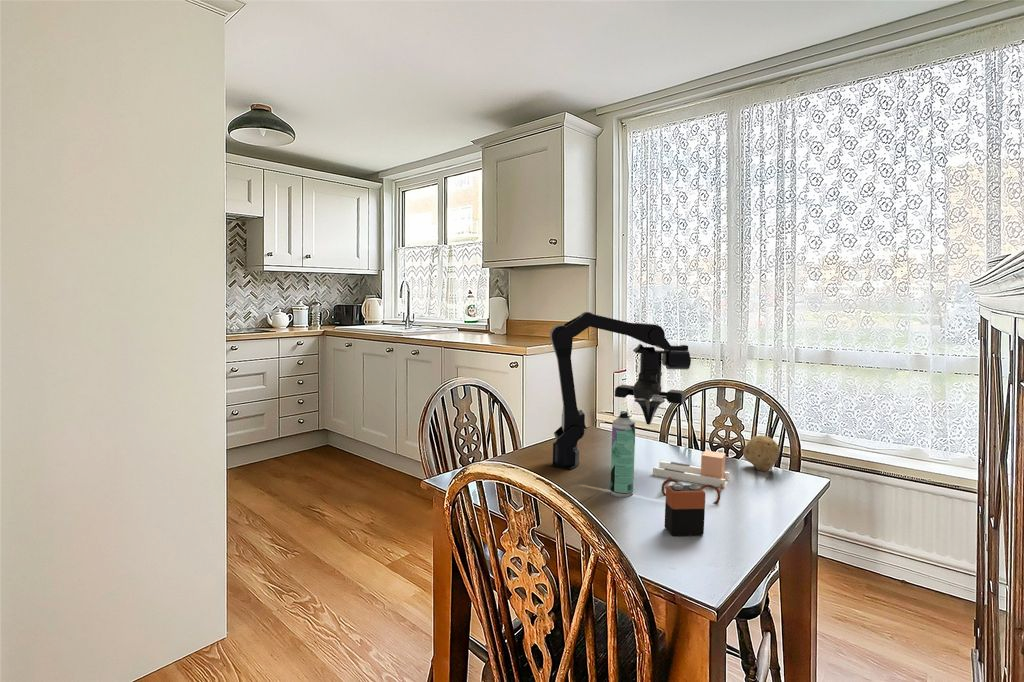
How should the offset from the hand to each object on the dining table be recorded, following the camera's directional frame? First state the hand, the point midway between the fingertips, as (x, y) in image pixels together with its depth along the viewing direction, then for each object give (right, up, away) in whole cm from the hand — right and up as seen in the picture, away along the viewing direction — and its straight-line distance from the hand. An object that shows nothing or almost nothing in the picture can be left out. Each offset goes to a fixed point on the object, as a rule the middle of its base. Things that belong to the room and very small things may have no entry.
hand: (648, 424), depth 154 cm
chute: (+9, -13, -10) cm, 18 cm away
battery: (-3, -16, -42) cm, 45 cm away
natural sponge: (+31, -13, -2) cm, 33 cm away
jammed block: (+13, -13, -13) cm, 22 cm away
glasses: (+6, -14, -20) cm, 25 cm away
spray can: (-12, -14, -20) cm, 27 cm away
